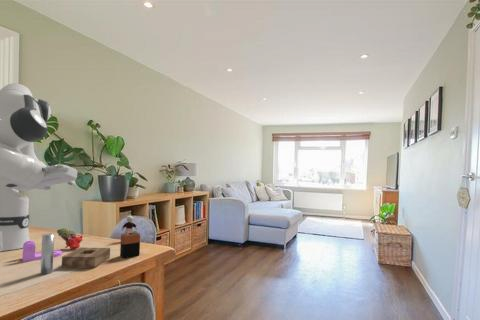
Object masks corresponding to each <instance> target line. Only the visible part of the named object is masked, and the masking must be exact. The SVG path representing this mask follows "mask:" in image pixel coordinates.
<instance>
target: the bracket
mask: <svg viewBox="0 0 480 320" xmlns="http://www.w3.org/2000/svg"><path fill="white" fill-rule="evenodd" d="M62 255H63V250H53V258H57V257H58V258H59V257H62ZM39 260H40V261H41V252H38V253H37V252H36V243H35V241H33V240H31V239H30V240H29V241H26V242H25V243H24V244H23V248H22V263H25V262H32V261H39Z"/></svg>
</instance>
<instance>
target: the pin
mask: <svg viewBox="0 0 480 320" xmlns="http://www.w3.org/2000/svg"><path fill="white" fill-rule="evenodd" d="M41 236H42V237H41V252H40V253H41V259H40V272H39V273H40V275H42V276H44V275H50V274H52V273H53V272H54V271H53V270H54V269H53V268H54V267H53V266H54V257H53V251H55V250H54V248H55V245H54V244H55V233H45V234H42V235H41Z"/></svg>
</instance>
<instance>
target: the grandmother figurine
mask: <svg viewBox="0 0 480 320" xmlns="http://www.w3.org/2000/svg"><path fill="white" fill-rule="evenodd" d="M133 221H134V217H133V216H132V215H127V216H126V222H125V223H124V224H122V225H123V226H122V227H121V231H124V230H125V231H124V233H125V232H128V233H132V231H134V230H135V231H138V225H136V223H134V222H133ZM133 228H134V230H133Z"/></svg>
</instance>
